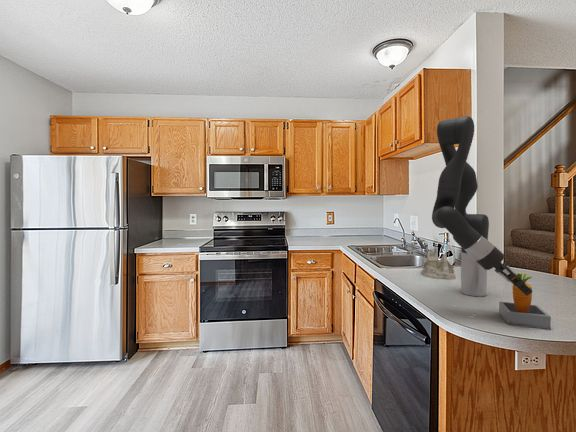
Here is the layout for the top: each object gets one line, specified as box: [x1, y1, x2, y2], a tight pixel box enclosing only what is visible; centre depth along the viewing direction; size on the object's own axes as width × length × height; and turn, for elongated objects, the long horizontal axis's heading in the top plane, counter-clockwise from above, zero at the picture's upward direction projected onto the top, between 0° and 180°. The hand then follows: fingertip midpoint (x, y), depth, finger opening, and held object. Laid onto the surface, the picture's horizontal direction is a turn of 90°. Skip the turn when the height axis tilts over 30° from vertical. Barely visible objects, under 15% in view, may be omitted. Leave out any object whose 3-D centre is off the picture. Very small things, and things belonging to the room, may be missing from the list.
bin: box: [498, 301, 552, 331], centre depth 97 cm, size 11×11×4 cm
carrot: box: [512, 272, 533, 313], centre depth 97 cm, size 5×5×15 cm
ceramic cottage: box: [420, 248, 456, 281], centre depth 158 cm, size 16×16×15 cm
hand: (524, 289), depth 97 cm, fingers open, 8 cm apart
